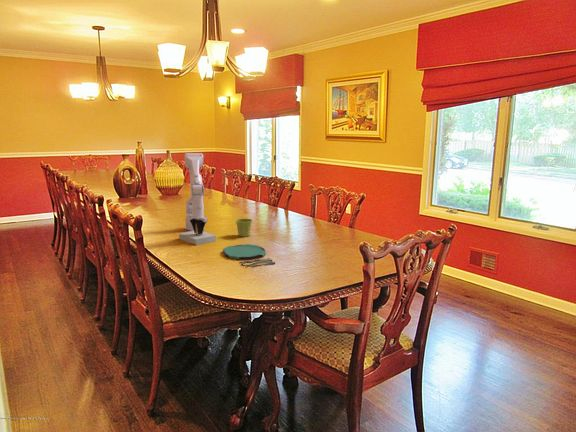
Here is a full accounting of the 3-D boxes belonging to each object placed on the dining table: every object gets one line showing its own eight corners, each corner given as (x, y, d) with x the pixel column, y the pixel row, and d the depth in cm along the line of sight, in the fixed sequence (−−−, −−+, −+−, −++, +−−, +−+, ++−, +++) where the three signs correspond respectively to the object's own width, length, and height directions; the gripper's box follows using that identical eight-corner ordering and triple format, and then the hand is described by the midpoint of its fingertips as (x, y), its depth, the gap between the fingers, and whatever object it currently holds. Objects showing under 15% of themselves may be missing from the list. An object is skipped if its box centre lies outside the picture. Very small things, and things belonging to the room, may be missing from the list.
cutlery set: (257, 246, 214) (257, 242, 213) (279, 265, 187) (280, 260, 187) (218, 250, 206) (218, 246, 206) (236, 271, 179) (236, 266, 179)
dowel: (194, 238, 222) (194, 223, 221) (199, 237, 224) (198, 223, 223) (198, 239, 220) (198, 224, 219) (203, 238, 223) (202, 223, 221)
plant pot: (236, 238, 228) (236, 222, 226) (234, 233, 237) (234, 218, 235) (253, 237, 231) (254, 221, 229) (250, 233, 239) (250, 218, 238)
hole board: (179, 239, 224) (179, 233, 224) (198, 235, 233) (198, 229, 232) (196, 245, 213) (196, 239, 213) (216, 241, 222) (215, 235, 221)
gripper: (183, 206, 221) (184, 232, 224) (199, 210, 211) (199, 237, 214) (194, 205, 226) (195, 229, 229) (210, 209, 216) (211, 234, 219)
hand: (198, 233), depth 222 cm, fingers closed on dowel, 3 cm apart
